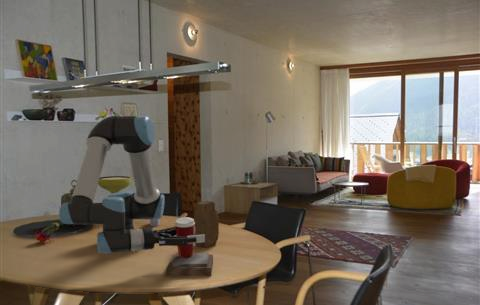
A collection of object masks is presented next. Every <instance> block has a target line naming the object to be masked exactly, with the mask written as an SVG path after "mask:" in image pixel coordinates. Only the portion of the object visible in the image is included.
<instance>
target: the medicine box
mask: <svg viewBox="0 0 480 305" xmlns="http://www.w3.org/2000/svg"><path fill="white" fill-rule="evenodd" d="M149 221H150V222H149V223H150V225H149V226H150V227H158V226H160V222H161V218H160V219H154V220H149Z"/></svg>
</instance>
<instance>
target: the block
mask: <svg viewBox="0 0 480 305" xmlns="http://www.w3.org/2000/svg"><path fill="white" fill-rule="evenodd" d="M193 213H194V214H193V220H194V222H195V224H194V227H195V234H194V235H203V234H204V235H205V242H202V243H194V245H195V246H197V247H200V248H209V246H210V247H212V246H215V245H216V244H217V241H218V239H219V235H220V234H219V232H220V231H219V229H220V226H219V225H220V223H219V215H218V211H217V209H216V203H215V201H212V200H203V201H198V202H196V203H194V211H193Z"/></svg>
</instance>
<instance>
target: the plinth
mask: <svg viewBox="0 0 480 305" xmlns="http://www.w3.org/2000/svg"><path fill="white" fill-rule="evenodd" d="M213 265H214V254H210V253H209V252H208V253H207V252H198V253H197V252H196V253H195V252H193V255H192V256H191V257H188V258H182V257H179V255H178V252H175V254H172V255H171V257H170V260H169V262H168V263H167V266H166V270H165V271H166V277H212V272H213Z"/></svg>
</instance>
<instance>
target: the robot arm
mask: <svg viewBox="0 0 480 305" xmlns="http://www.w3.org/2000/svg"><path fill="white" fill-rule="evenodd" d="M155 138H156V136H155V127H154V123H153V121H152V120H151V118H150V117H148V116H144V115H143V116H141V115H129V116H128V115H111V116H107V117H105V118H102V120H100V121H98V123H96V124H95V125H94V126H93V128H91V130H90V132H89V133H88V136H87V139H86V146H87V148H86V151H85V154H84V157H83V161H82V163H81V165H80V166H81V167H80V170H79V173H78V176H77V179H76V181H77V182H75V184H74V185H75V189H74V192H73V195H72V198H71V201H70V202H67V203H63V204H62V205H61V204H60V206H59V212H58V217H59V221H61V222H60V223H62V224H65V225H70V224H73V225H72V226H75V225H83V224H86V225H101V226H102V230H101V231H99V232H97V234H96V237H97V238H96V248H97V253H99V254H115V253H116V254H117V253H125V252H133V253H136V251H142V250H145V251H146V250H153V249H155V244H158V246H159V247H164V246H165V247H166V246H170V247H171V246H173V247H178V246H185V247H187V246H188V244H192V243H194V244H195V243H202V242H205V235H204V234H203V235H192V236H187V237H181V236H176V226H175V225H174V226H170V227H167V228H161V229H157V230H155V229H154V228H152V227H148V228H147V227H146V228H143V229H141V228H135V226H134V220H147V221H148V220H149V221H150V220H154V219H160V220H161V219H162V217H163V214H164V209H165V195H164V194H163V193H160V190H159V189H158V188H157V187H156V185H155V184H156V183H155V178H154V171H153V166H152V165H153V164H152V160H151V154H150V148H151V147H152V145H153V144H154V142H155ZM113 145H122V146H123V150H124V151H125V152H126V153H128V157H129V158H128V159H129V162H130V167H131V171H132V172H131V173H132V177H133V182H134V187H135V192H134V193H133V191H132V190H127V191H126V190H125V191H119V192H117V193H113V194H112V193H110V194H109V195H107V197H103V199H102V201H101V202H94V200H95V195H96V192H97V188H98V186H99V185H98V182H99V178H100V177H101V175H102V170H103V168H104V164H105V160H106V157H107V153H108V152H109V151H111V148H112V146H113ZM194 234H195V227H194ZM183 240H184V242H183Z"/></svg>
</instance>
